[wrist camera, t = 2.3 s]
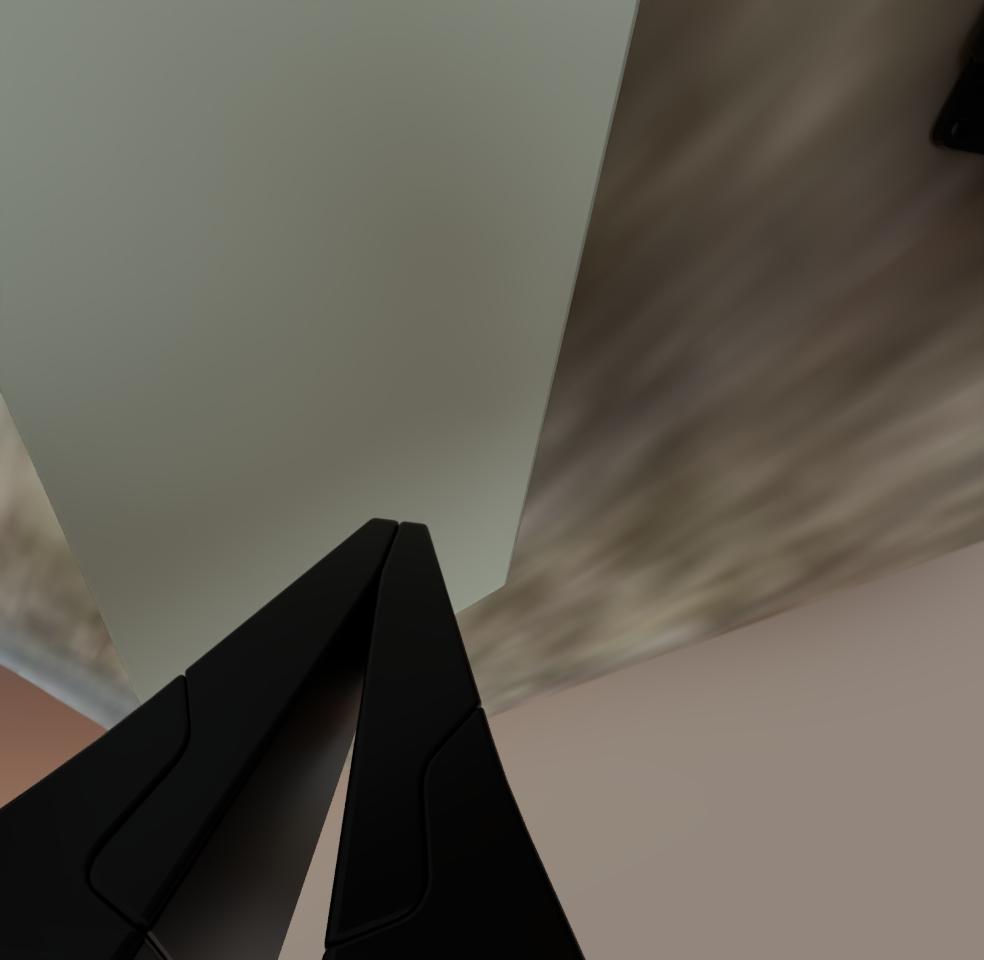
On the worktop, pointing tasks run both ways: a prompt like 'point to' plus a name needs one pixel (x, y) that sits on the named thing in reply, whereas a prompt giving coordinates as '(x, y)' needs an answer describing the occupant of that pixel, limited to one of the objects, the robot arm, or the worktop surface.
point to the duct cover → (289, 282)
